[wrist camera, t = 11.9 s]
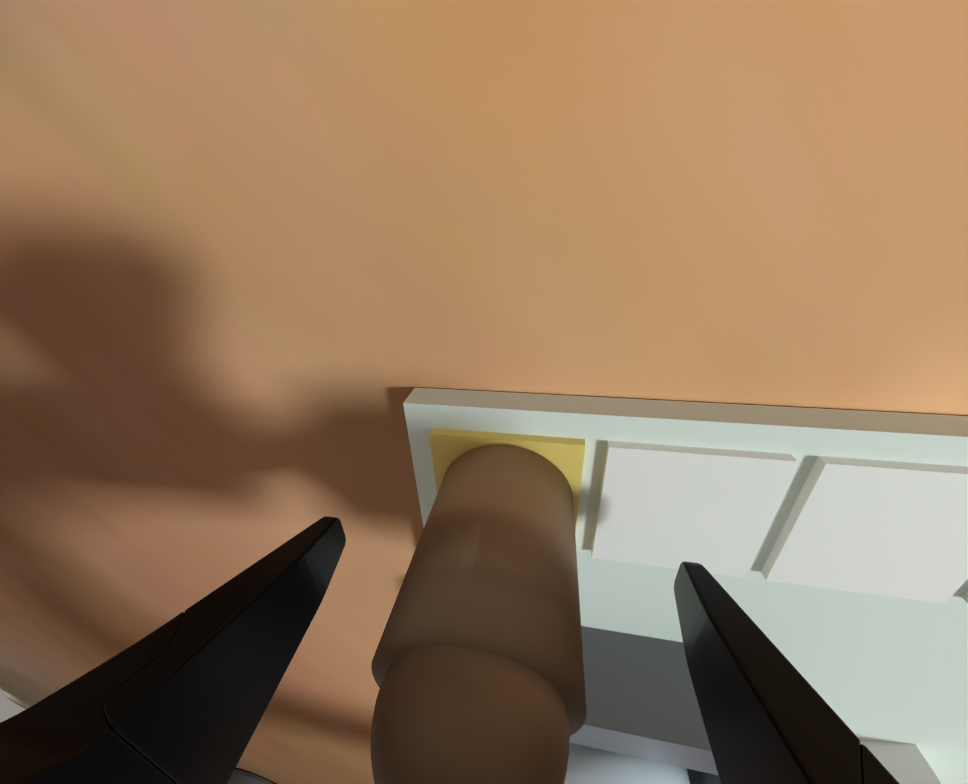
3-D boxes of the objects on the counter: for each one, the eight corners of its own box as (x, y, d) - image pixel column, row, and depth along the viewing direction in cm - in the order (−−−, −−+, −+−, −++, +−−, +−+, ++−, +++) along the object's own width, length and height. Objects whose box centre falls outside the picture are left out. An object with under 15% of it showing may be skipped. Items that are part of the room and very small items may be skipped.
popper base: (692, 766, 17) (716, 866, 15) (490, 722, 19) (479, 804, 16) (759, 655, 13) (811, 772, 10) (483, 610, 14) (466, 699, 12)
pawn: (564, 550, 12) (575, 938, 6) (445, 532, 12) (337, 865, 6) (582, 454, 10) (631, 889, 4) (439, 437, 10) (274, 789, 4)
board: (916, 792, 17) (942, 835, 15) (459, 696, 20) (453, 724, 19) (1427, 440, 7) (1586, 483, 6) (414, 387, 11) (398, 407, 10)
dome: (656, 739, 17) (695, 948, 12) (528, 712, 18) (517, 895, 13) (685, 673, 14) (750, 912, 9) (531, 645, 15) (519, 847, 10)
